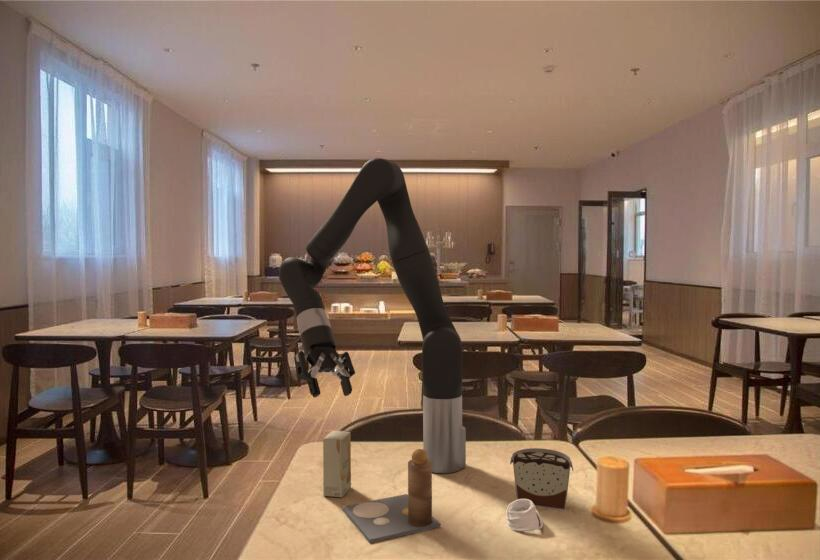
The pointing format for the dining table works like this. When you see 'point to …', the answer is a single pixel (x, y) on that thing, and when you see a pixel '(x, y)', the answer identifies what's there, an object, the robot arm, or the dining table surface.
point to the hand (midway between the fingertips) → (333, 395)
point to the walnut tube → (420, 489)
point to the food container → (542, 477)
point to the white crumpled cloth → (523, 516)
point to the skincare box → (336, 463)
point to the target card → (384, 518)
